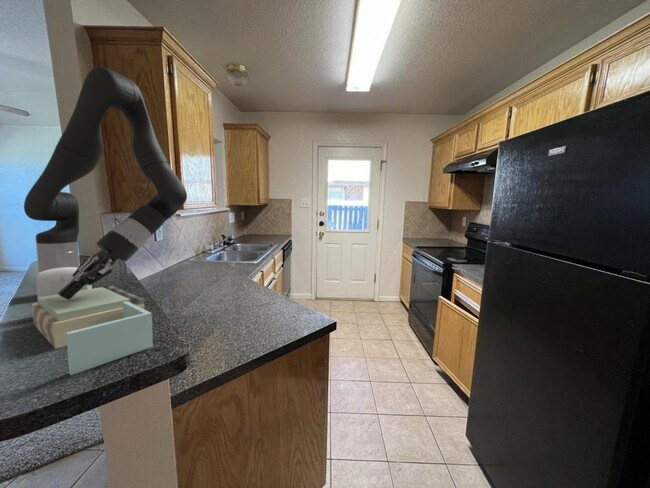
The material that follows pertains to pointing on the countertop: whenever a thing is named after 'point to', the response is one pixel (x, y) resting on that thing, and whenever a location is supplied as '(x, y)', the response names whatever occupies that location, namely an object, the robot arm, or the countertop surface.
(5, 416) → the countertop surface
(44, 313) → the block
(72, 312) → the sage green flat slab
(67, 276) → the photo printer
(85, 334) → the l-shaped corner panel
